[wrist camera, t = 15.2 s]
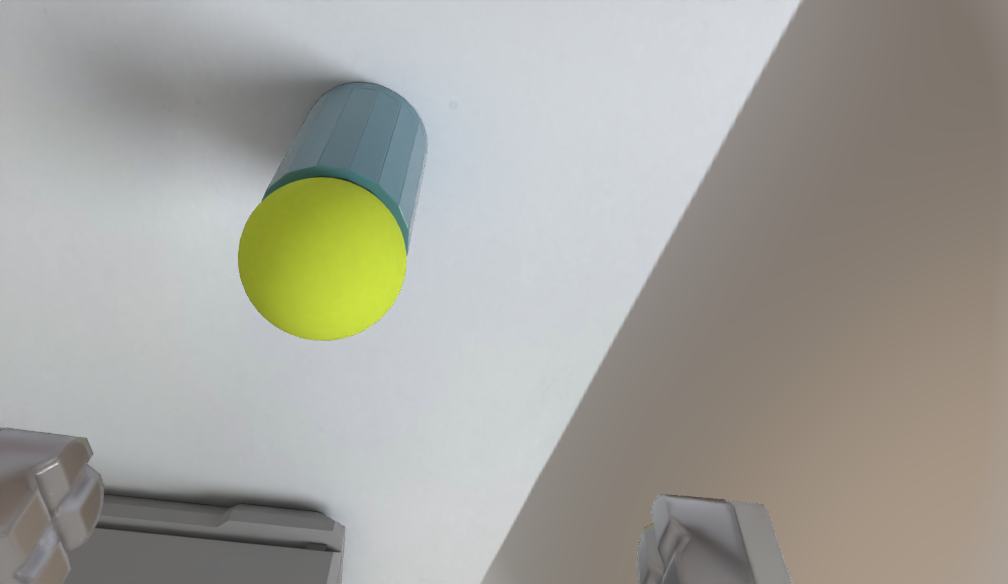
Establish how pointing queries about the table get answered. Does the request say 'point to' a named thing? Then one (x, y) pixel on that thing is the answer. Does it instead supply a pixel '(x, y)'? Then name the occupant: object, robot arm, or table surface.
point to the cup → (362, 148)
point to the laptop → (207, 545)
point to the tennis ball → (322, 258)
